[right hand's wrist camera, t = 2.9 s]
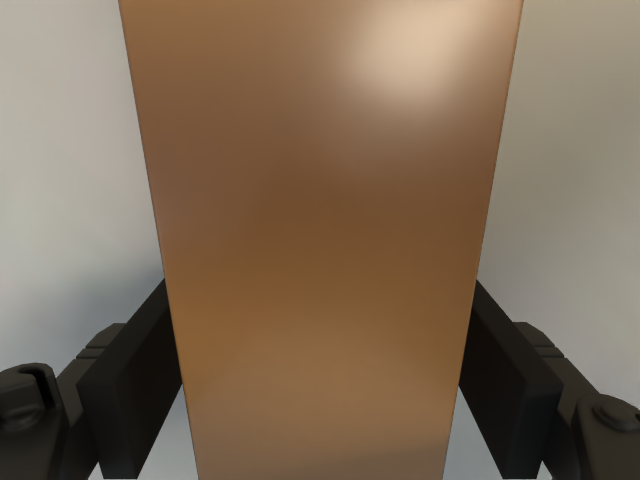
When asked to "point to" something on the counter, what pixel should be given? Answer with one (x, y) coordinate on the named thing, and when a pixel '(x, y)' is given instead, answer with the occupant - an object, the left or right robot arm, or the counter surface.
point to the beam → (320, 220)
